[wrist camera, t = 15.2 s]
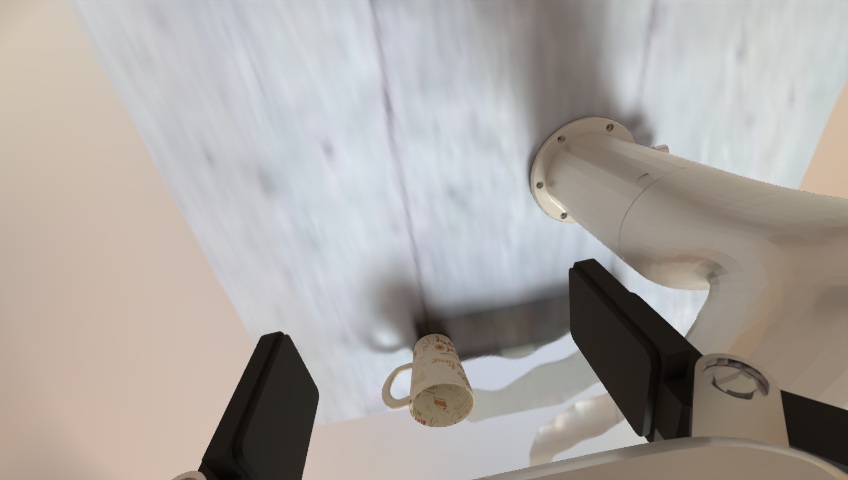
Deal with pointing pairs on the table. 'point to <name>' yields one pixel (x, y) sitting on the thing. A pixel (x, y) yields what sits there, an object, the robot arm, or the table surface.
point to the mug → (434, 384)
